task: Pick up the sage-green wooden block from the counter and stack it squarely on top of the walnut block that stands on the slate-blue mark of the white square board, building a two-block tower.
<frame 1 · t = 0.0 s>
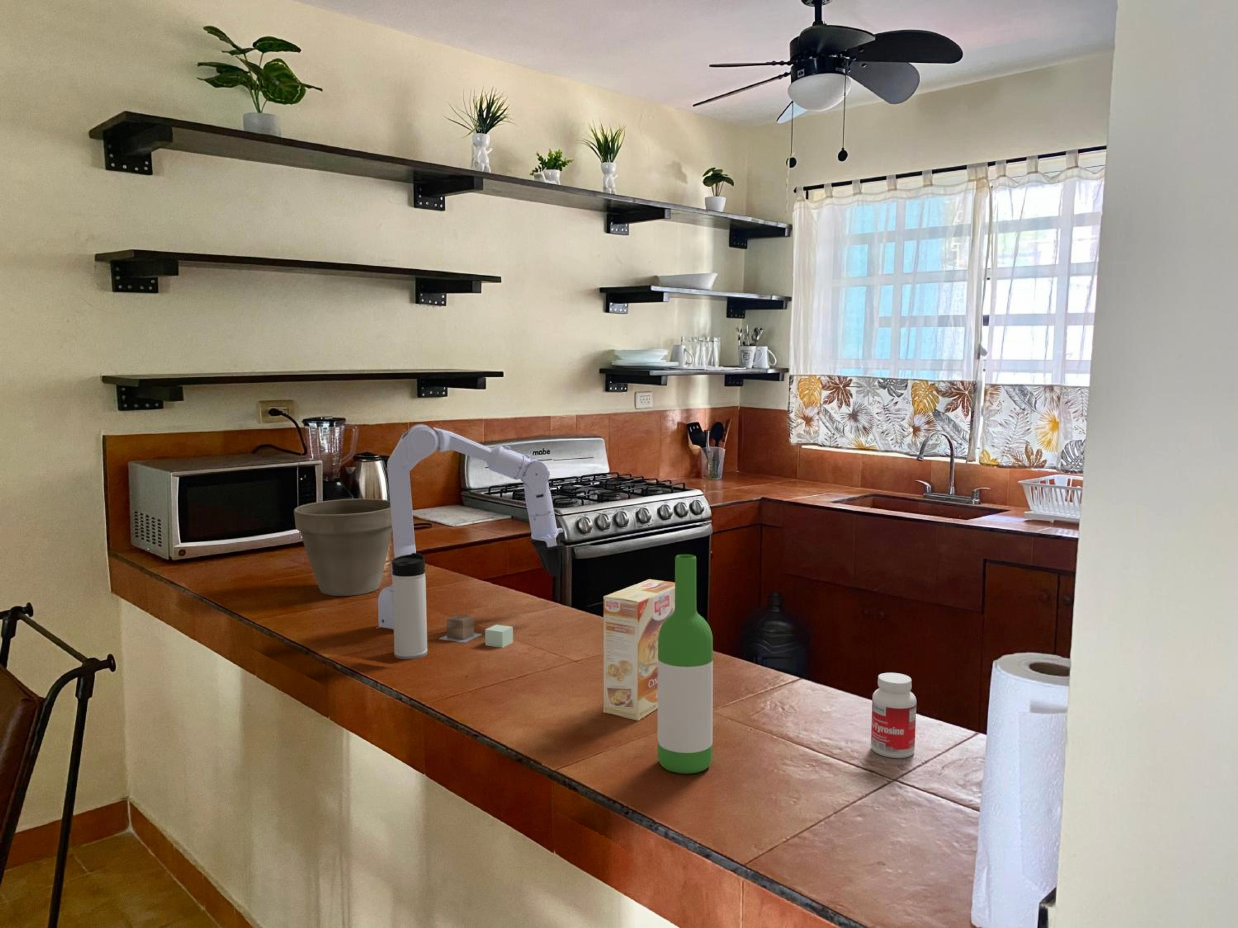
hand: (551, 571, 209), 11 cm above the counter, tool pointing down, fingers open, 7 cm apart
walnut block: (460, 636, 193), point 1 cm above the counter, touching white square board
green block: (499, 647, 188), on the counter
plant pot: (349, 590, 237), on the counter
pill bottle: (892, 751, 137), on the counter
white square board: (460, 639, 193), on the counter
wine bottle: (685, 765, 132), on the counter
travel mug: (411, 658, 182), on the counter
coffeecake box: (643, 704, 157), on the counter
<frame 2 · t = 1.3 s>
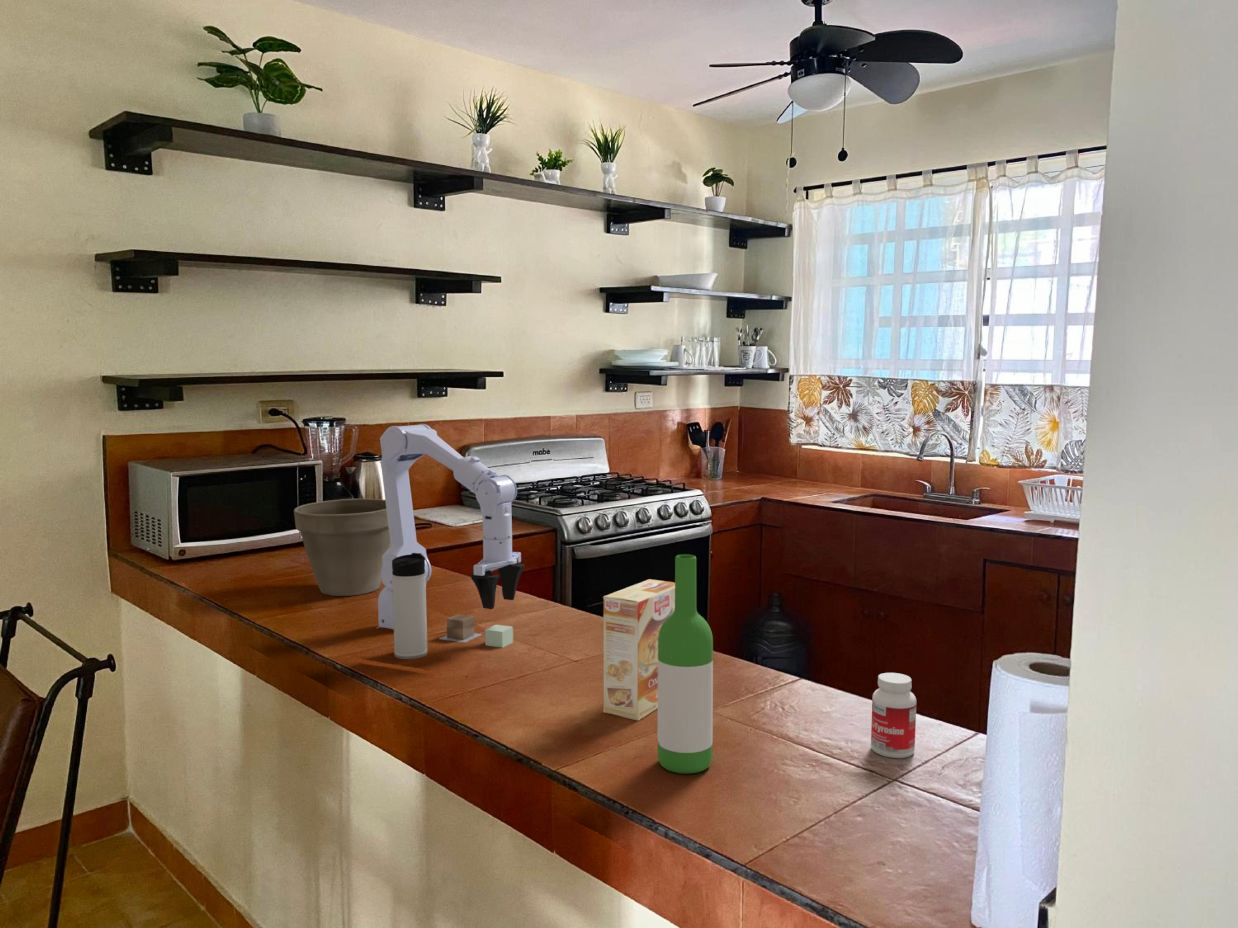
hand: (498, 603, 187), 9 cm above the counter, tool pointing down, fingers open, 7 cm apart
nothing on the counter moved.
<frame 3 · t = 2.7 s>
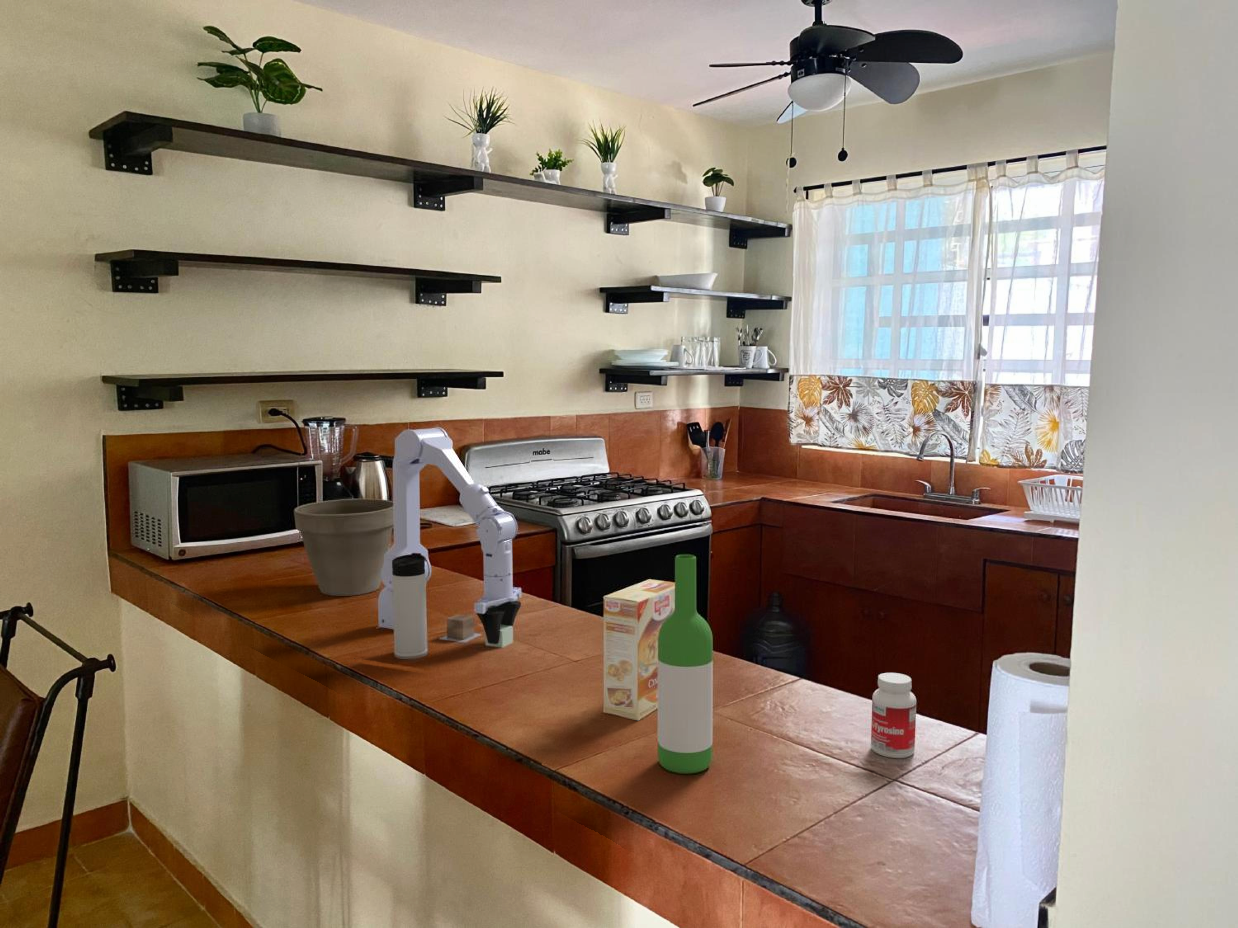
hand: (499, 639, 188), 1 cm above the counter, tool pointing down, fingers closed on green block, 4 cm apart
green block: (499, 646, 188), on the counter, touching gripper
everything else where it was.
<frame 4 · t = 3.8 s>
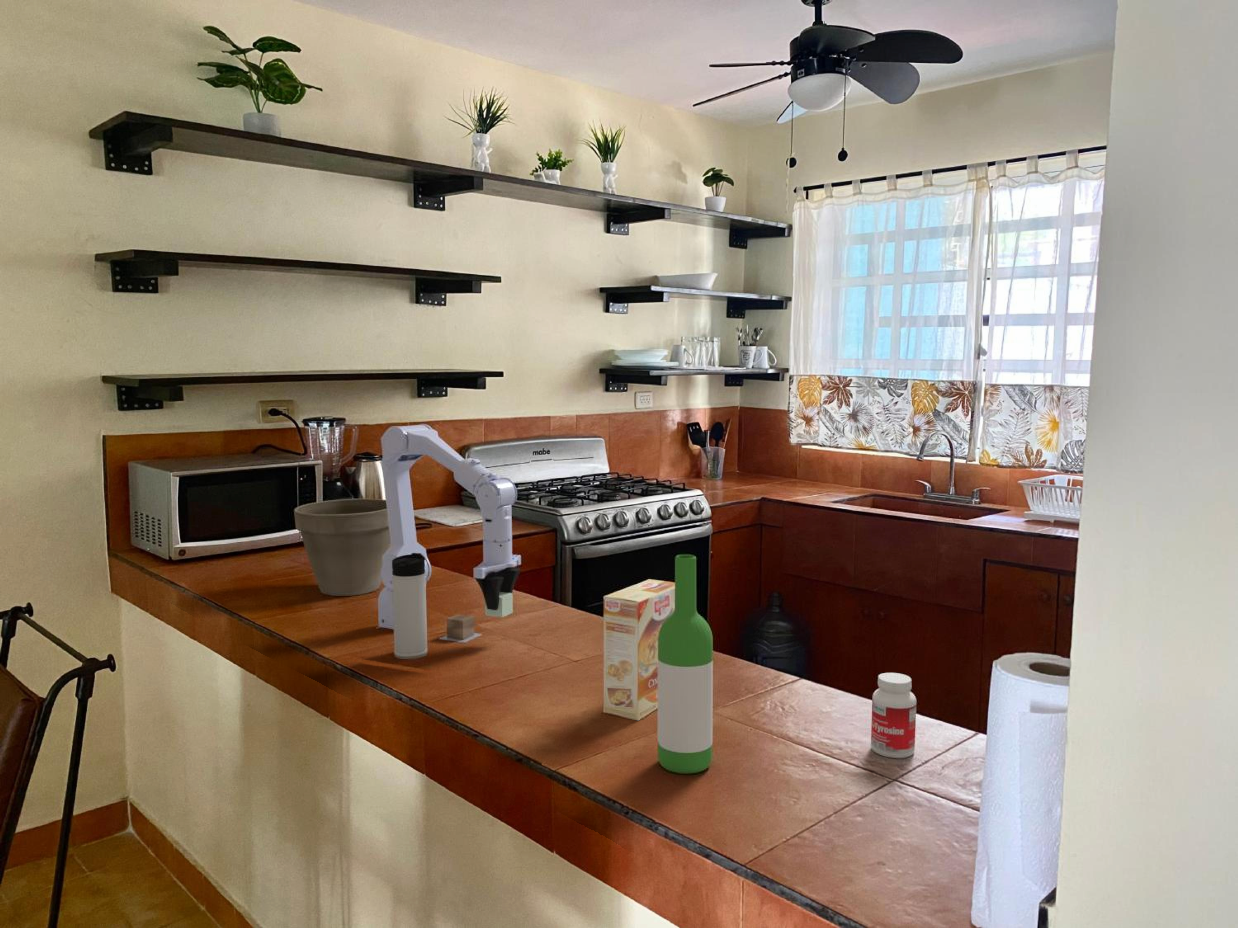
hand: (498, 606, 188), 8 cm above the counter, tool pointing down, fingers closed on green block, 4 cm apart
green block: (499, 613, 188), point 7 cm above the counter, touching gripper
everything else where it was.
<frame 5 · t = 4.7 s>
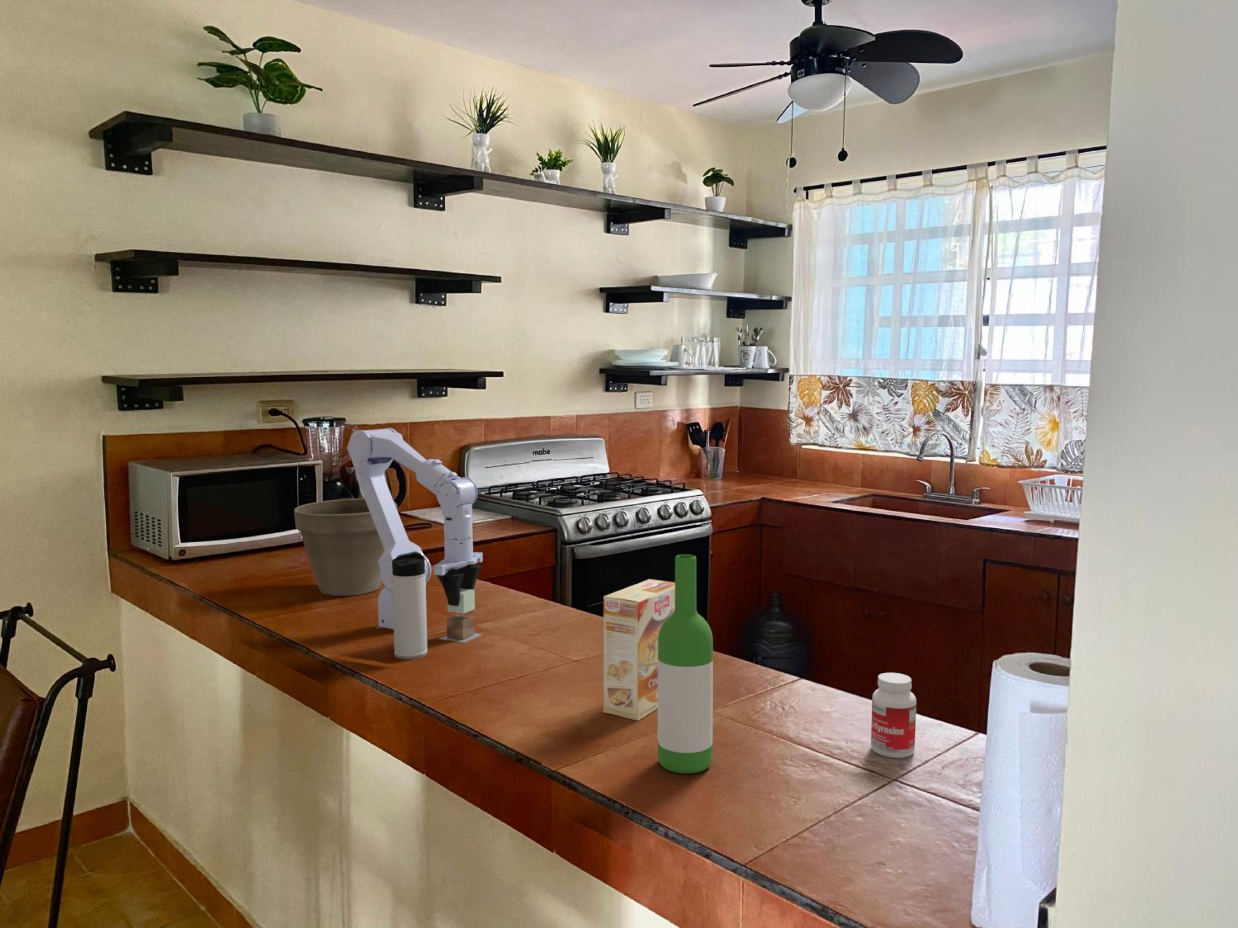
hand: (460, 602, 193), 8 cm above the counter, tool pointing down, fingers closed on green block, 4 cm apart
green block: (461, 610, 193), point 6 cm above the counter, touching gripper
everything else where it was.
when the fingers open (7 cm above the counter, at t = 5.2 s): green block stays where it is, resting on walnut block.
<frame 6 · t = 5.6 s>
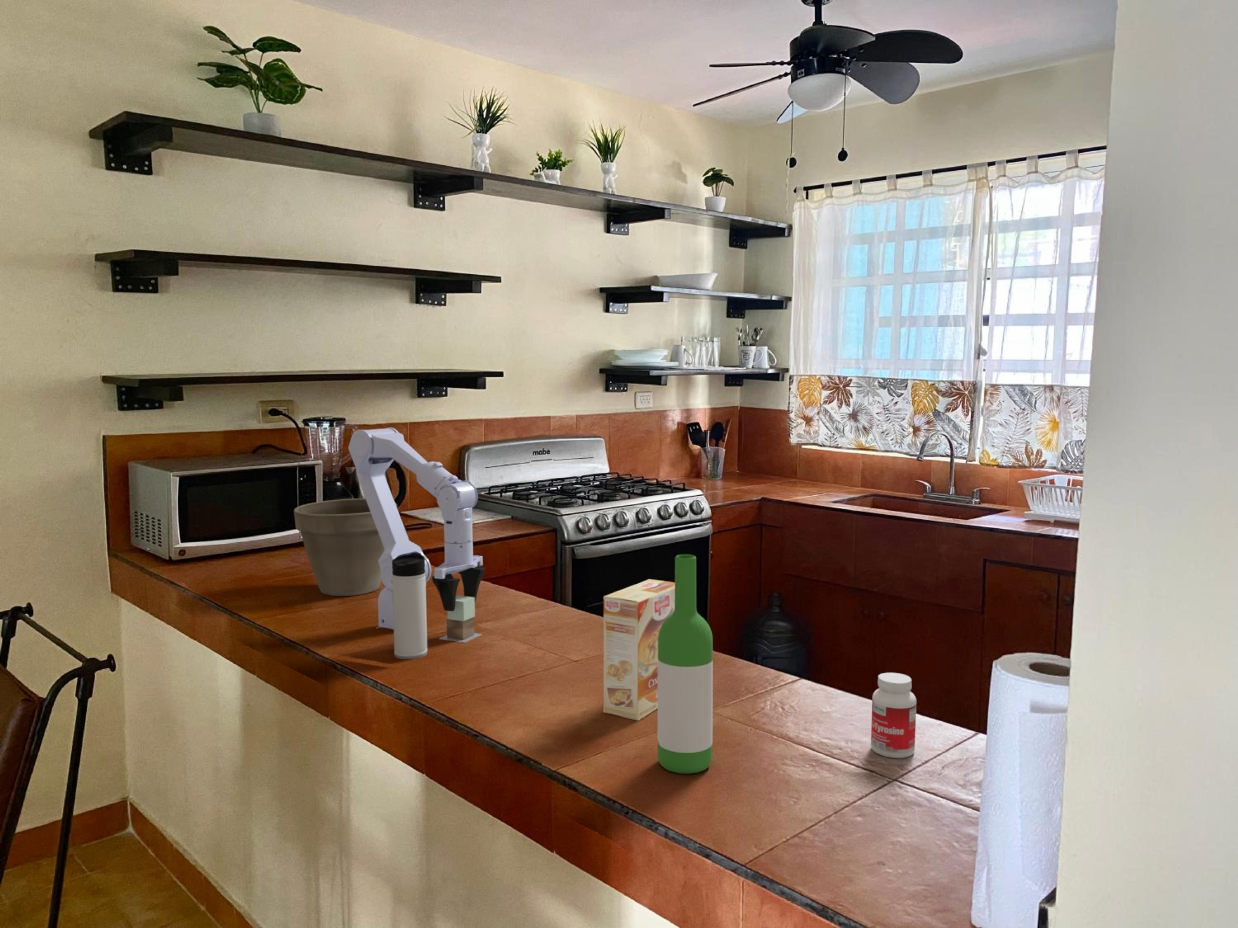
hand: (460, 606, 193), 7 cm above the counter, tool pointing down, fingers open, 7 cm apart
walnut block: (460, 636, 193), point 1 cm above the counter, touching white square board, green block
green block: (461, 617, 193), point 5 cm above the counter, touching walnut block
everything else where it was.
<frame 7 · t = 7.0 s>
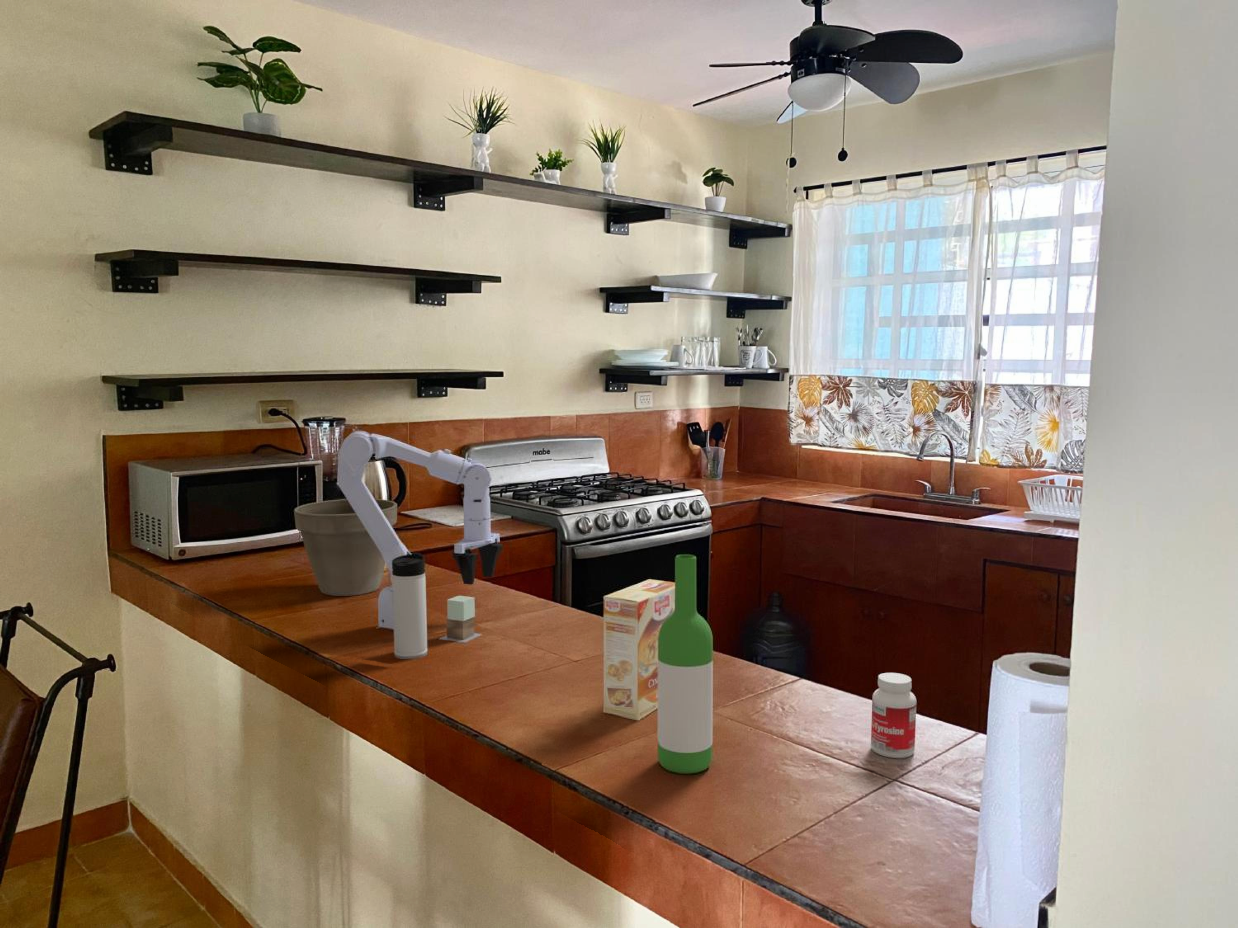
hand: (478, 580, 204), 10 cm above the counter, tool pointing down, fingers open, 7 cm apart
nothing on the counter moved.
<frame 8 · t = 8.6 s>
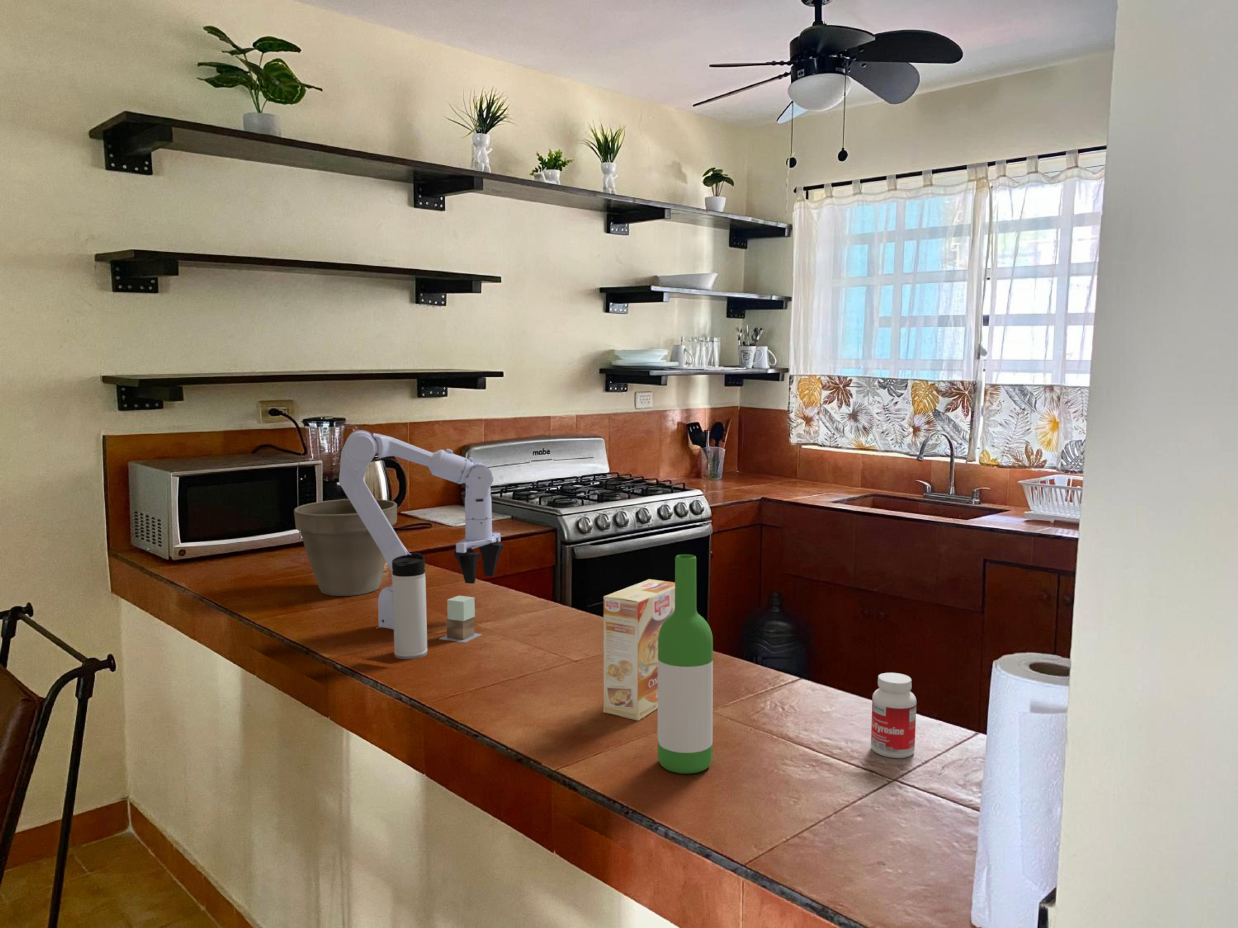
hand: (479, 579, 205), 10 cm above the counter, tool pointing down, fingers open, 7 cm apart
nothing on the counter moved.
at the end: green block 0.3 cm off-centre on the walnut block, point 4.0 cm above the walnut block's base; green block tilted 0°; walnut block moved 0.0 cm from its start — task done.
